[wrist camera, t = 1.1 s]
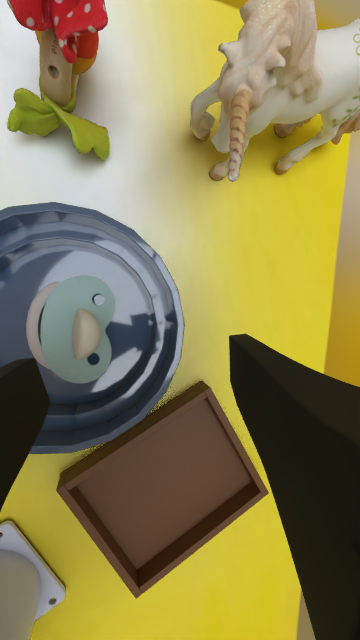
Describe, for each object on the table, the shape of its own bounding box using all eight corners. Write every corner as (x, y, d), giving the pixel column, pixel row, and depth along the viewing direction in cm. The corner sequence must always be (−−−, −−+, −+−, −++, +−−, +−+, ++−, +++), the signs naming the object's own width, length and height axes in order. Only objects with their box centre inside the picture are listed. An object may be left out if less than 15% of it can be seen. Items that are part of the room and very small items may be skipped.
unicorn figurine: (110, 170, 21) (111, -53, 8) (299, 71, 24) (517, -196, 11) (160, 253, 22) (233, 181, 9) (332, 148, 25) (563, -11, 13)
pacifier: (25, 372, 20) (110, 375, 21) (-16, 403, 14) (106, 404, 15) (32, 272, 20) (117, 281, 21) (-7, 258, 14) (117, 272, 15)
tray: (133, 574, 23) (135, 599, 21) (60, 473, 21) (55, 490, 19) (257, 478, 25) (269, 493, 24) (201, 380, 24) (210, 387, 22)
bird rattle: (30, 81, 21) (6, 168, 18) (-33, -234, 11) (-113, -167, 8) (114, 104, 22) (106, 188, 19) (126, -152, 12) (115, -67, 9)
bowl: (35, 461, 21) (16, 503, 16) (-94, 285, 18) (-159, 280, 14) (200, 356, 23) (221, 368, 19) (109, 191, 21) (109, 162, 16)
